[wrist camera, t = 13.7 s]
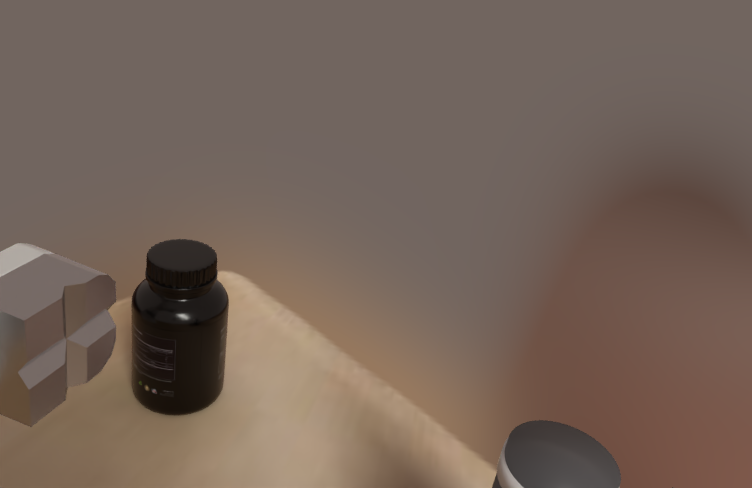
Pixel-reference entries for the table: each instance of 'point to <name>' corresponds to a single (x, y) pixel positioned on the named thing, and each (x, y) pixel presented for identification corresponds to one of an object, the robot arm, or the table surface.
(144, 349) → the supplement bottle
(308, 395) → the table surface
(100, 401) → the table surface
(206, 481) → the table surface
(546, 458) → the lens
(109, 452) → the table surface
